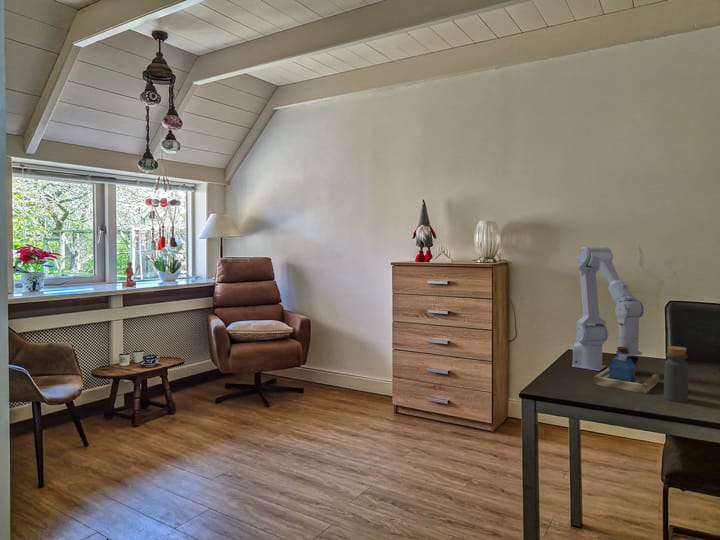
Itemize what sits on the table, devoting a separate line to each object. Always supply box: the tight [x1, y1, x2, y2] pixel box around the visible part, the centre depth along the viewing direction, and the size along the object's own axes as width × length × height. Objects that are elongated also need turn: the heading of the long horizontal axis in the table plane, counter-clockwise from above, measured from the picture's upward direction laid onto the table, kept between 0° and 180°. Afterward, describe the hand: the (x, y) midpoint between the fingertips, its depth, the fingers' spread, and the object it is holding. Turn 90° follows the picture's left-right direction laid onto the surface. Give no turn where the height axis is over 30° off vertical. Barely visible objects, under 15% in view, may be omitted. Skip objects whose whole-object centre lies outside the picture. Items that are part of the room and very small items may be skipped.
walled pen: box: [593, 367, 660, 394], centre depth 160 cm, size 15×17×2 cm
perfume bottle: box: [608, 346, 636, 383], centre depth 157 cm, size 6×6×12 cm
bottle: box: [663, 345, 690, 403], centre depth 143 cm, size 6×6×15 cm
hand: (627, 378), depth 161 cm, fingers closed
